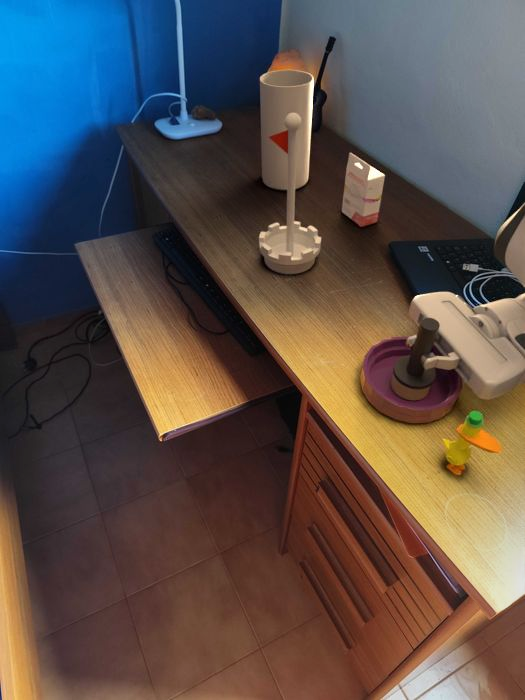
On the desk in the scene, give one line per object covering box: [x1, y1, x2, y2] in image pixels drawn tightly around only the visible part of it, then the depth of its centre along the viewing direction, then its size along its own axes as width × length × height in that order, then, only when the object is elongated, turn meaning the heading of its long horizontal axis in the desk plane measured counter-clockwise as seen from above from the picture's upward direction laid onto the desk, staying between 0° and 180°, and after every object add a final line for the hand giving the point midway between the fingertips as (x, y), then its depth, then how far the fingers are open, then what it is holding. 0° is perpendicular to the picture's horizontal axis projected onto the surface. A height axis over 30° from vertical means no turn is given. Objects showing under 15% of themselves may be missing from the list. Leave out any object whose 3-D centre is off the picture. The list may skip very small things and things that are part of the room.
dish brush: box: [391, 318, 440, 400], centre depth 70 cm, size 6×6×14 cm
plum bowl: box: [359, 336, 464, 424], centre depth 75 cm, size 15×15×4 cm
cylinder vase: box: [259, 69, 315, 191], centre depth 117 cm, size 12×12×25 cm
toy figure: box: [441, 410, 503, 476], centre depth 61 cm, size 7×4×12 cm, turn 48°
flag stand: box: [258, 113, 322, 275], centre depth 90 cm, size 13×13×30 cm
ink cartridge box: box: [341, 152, 386, 228], centre depth 107 cm, size 9×5×15 cm, turn 27°
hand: (415, 353), depth 69 cm, fingers closed on dish brush, 2 cm apart
